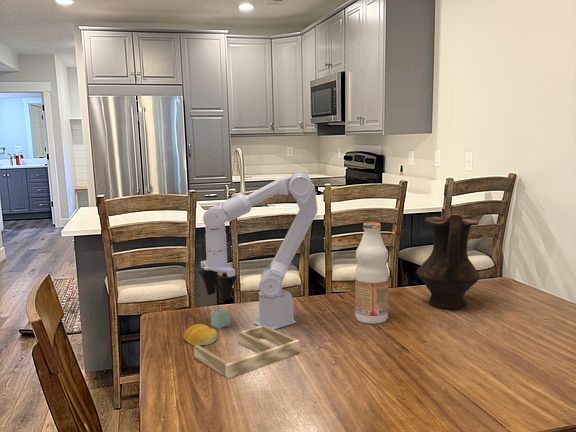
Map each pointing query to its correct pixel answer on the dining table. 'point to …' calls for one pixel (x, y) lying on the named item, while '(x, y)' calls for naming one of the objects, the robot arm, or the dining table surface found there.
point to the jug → (449, 262)
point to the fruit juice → (371, 277)
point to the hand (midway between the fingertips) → (218, 296)
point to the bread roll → (200, 335)
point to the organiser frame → (252, 342)
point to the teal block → (220, 318)
